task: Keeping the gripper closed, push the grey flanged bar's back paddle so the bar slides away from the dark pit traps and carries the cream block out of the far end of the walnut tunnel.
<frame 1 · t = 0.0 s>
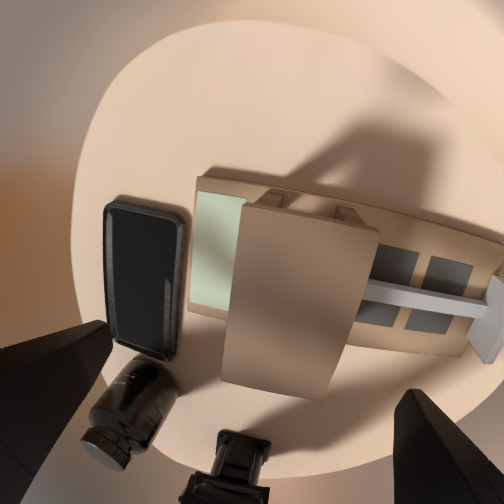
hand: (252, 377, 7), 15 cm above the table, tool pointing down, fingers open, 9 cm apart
track bed: (296, 265, 22), on the table
supplement bottle: (153, 378, 29), on the table
grey flanged bar: (401, 304, 18), point 3 cm above the table, slide at 0.0 cm, touching cream block
walnut tunnel: (293, 292, 18), on the track bed, point 4 cm above the table
phone: (144, 284, 26), on the table
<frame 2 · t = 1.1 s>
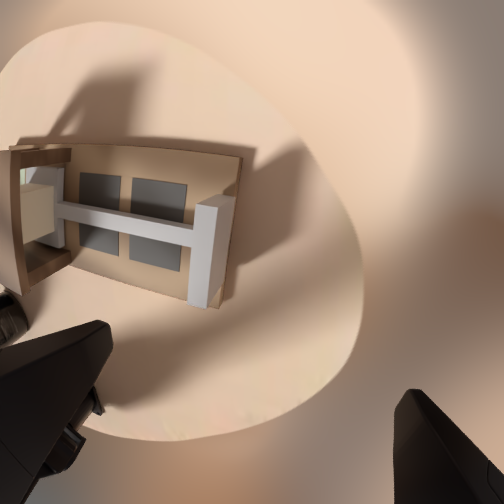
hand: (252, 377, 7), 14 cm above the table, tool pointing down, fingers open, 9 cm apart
track bed: (55, 201, 23), on the table
supplement bottle: (15, 311, 30), on the table
cream block: (40, 206, 21), point 2 cm above the table, touching grey flanged bar
grey flanged bar: (90, 222, 19), point 3 cm above the table, slide at 0.0 cm, touching cream block
walnut tunnel: (22, 212, 18), on the track bed, point 4 cm above the table
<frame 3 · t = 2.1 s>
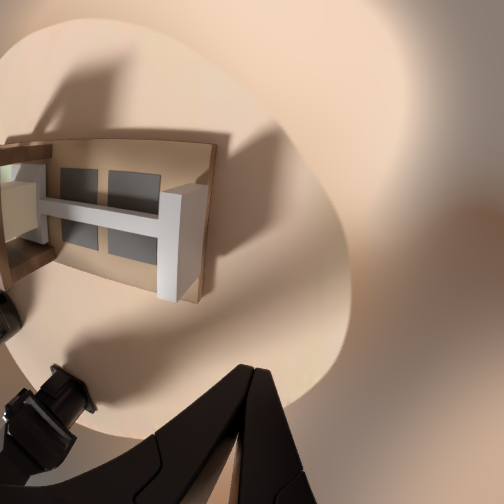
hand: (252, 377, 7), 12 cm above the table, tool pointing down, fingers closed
track bed: (40, 198, 22), on the table
supplement bottle: (9, 309, 30), on the table
cream block: (25, 203, 20), point 2 cm above the table, touching grey flanged bar
grey flanged bar: (67, 216, 18), point 3 cm above the table, slide at 0.0 cm, touching cream block
walnut tunnel: (6, 209, 18), on the track bed, point 4 cm above the table
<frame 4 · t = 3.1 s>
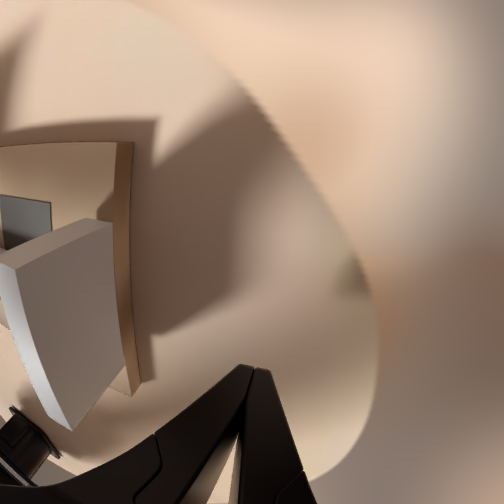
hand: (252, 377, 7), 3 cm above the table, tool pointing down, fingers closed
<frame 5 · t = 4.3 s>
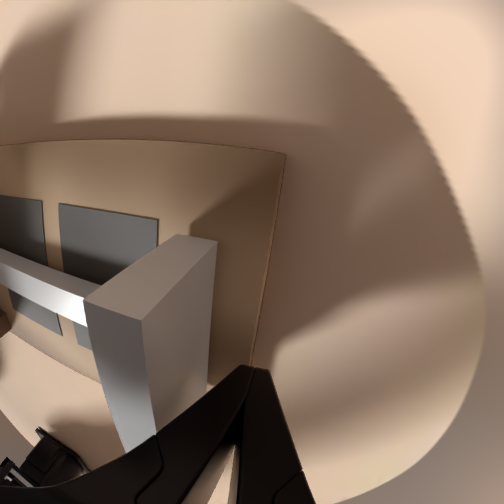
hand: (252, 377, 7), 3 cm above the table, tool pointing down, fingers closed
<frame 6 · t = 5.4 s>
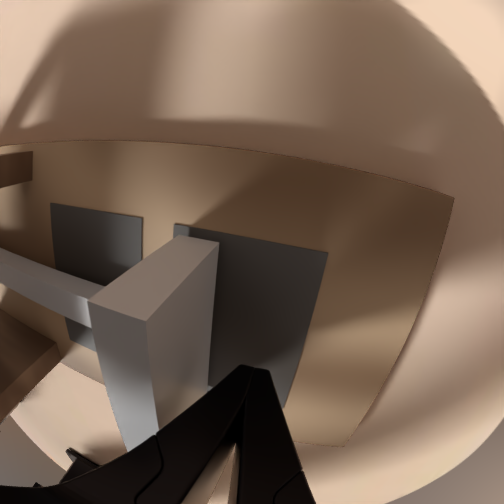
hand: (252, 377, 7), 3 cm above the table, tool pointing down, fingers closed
track bed: (21, 251, 12), on the table
supplement bottle: (1, 377, 19), on the table
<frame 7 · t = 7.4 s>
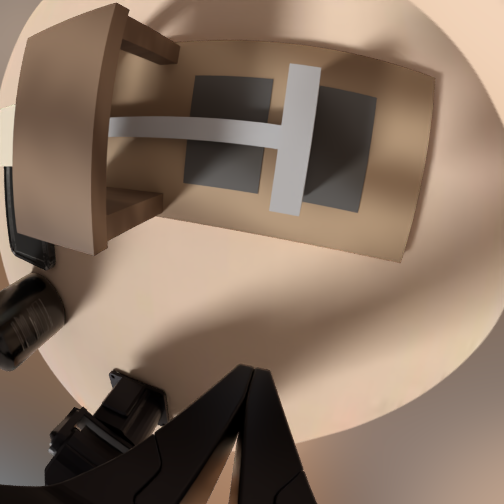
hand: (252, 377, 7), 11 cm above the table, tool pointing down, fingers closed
track bed: (136, 127, 17), on the table
supplement bottle: (47, 299, 25), on the table
cream block: (51, 131, 16), point 2 cm above the table, touching grey flanged bar
grey flanged bar: (118, 126, 13), point 3 cm above the table, slide at 6.6 cm, touching cream block
walnut tunnel: (92, 127, 13), on the track bed, point 4 cm above the table
phone: (32, 186, 21), on the table
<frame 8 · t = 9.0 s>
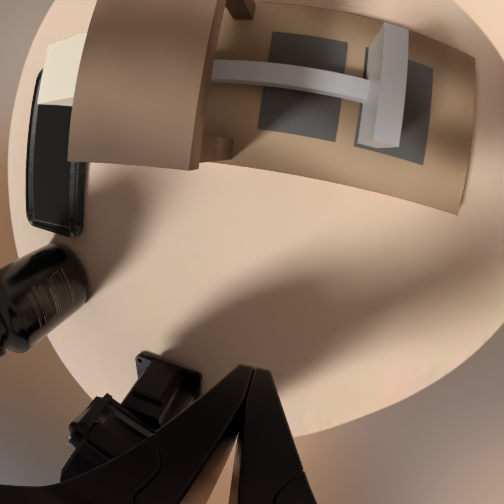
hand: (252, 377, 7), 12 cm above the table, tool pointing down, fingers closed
track bed: (201, 77, 16), on the table
supplement bottle: (66, 274, 24), on the table
cream block: (102, 76, 15), point 2 cm above the table, touching grey flanged bar
grey flanged bar: (198, 64, 13), point 3 cm above the table, slide at 6.6 cm, touching cream block
walnut tunnel: (171, 59, 12), on the track bed, point 4 cm above the table
phone: (61, 146, 20), on the table
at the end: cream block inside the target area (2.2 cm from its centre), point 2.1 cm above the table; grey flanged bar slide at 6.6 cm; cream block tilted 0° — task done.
